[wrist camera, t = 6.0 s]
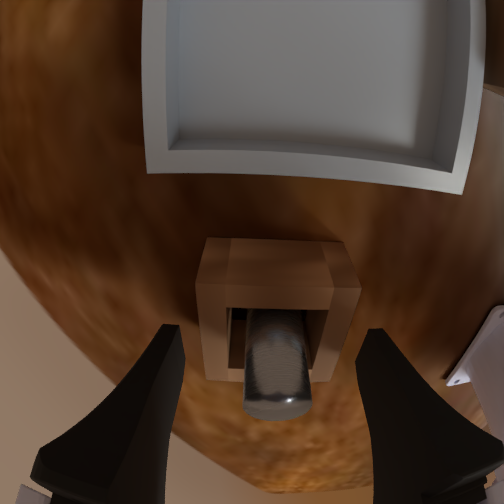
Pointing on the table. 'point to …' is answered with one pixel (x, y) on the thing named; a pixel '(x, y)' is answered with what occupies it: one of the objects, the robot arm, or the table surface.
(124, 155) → the table surface
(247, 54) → the tray
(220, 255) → the wide bore block
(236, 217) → the table surface
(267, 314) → the cylinder
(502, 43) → the block
